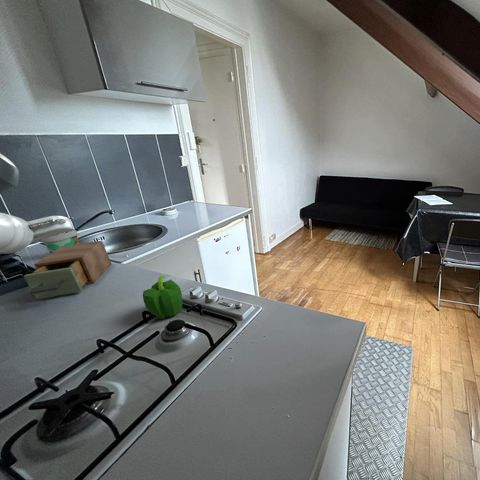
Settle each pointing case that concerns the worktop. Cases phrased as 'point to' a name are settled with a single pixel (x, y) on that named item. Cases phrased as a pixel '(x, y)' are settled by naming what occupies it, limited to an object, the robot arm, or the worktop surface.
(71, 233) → the food container
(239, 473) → the worktop surface
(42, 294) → the drawer
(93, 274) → the cabinet
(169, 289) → the bell pepper
